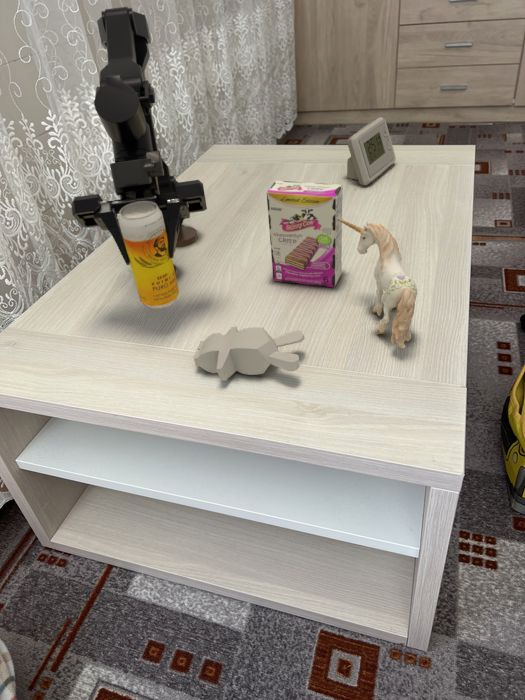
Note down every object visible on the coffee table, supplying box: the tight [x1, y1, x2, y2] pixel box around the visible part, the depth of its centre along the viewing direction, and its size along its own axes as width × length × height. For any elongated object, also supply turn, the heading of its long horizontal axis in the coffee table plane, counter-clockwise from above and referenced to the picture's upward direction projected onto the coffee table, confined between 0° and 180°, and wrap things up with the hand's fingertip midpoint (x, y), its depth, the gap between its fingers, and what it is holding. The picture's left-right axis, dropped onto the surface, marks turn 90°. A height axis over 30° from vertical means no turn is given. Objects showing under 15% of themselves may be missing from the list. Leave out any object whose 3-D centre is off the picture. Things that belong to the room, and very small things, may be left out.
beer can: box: [118, 201, 180, 309], centre depth 80 cm, size 6×6×15 cm
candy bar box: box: [266, 180, 343, 289], centre depth 90 cm, size 11×5×16 cm, turn 71°
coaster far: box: [167, 225, 199, 248], centre depth 110 cm, size 6×6×1 cm
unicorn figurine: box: [336, 218, 418, 349], centre depth 80 cm, size 7×20×13 cm, turn 20°
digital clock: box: [346, 116, 397, 186], centre depth 125 cm, size 16×9×11 cm, turn 134°
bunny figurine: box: [192, 325, 305, 381], centre depth 77 cm, size 10×5×15 cm
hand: (149, 260), depth 79 cm, fingers closed on beer can, 6 cm apart
